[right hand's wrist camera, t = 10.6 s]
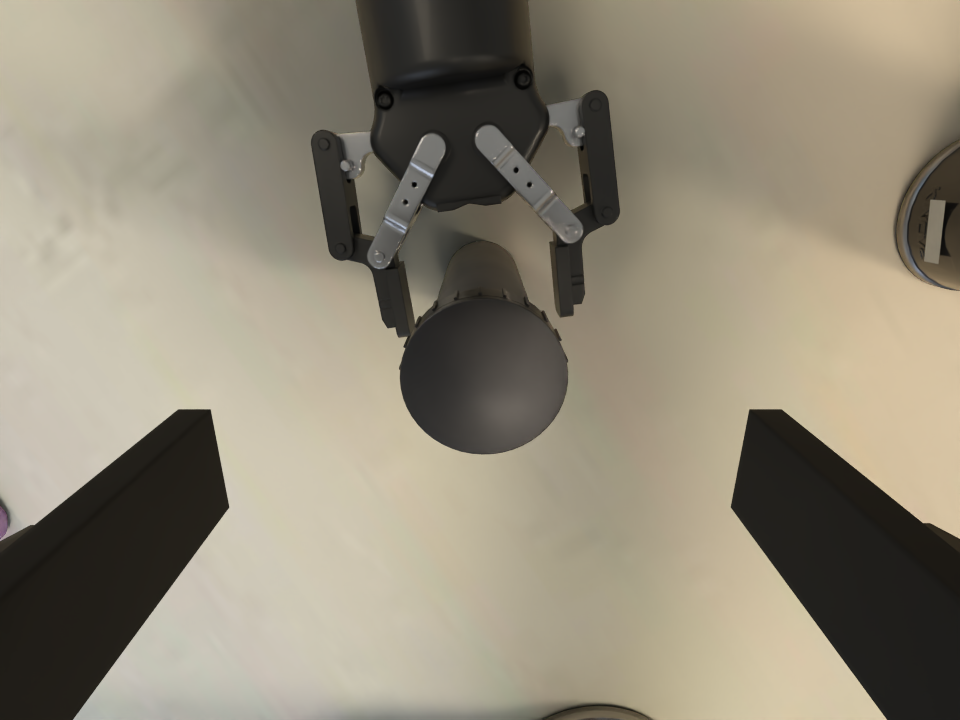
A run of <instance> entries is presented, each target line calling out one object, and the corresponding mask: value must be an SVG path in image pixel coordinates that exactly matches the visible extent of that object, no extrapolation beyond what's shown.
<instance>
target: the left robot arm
mask: <svg viewBox="0 0 960 720" xmlns="http://www.w3.org/2000/svg"><path fill="white" fill-rule="evenodd" d="M356 6H357V11H358V16H359V22H360V27H361V33H362V38H363V44H364V49H365V55H366V60H367V66H368V71H369V77H370V82H371V88H372V93H373V99H374V106H375V115H374V122H373V125H372V128H371V131H365V132H352V133H340V134H339V133H335V132H331V131H327V130H319V131H317V132H316V133H315V134H314V135H313V136H312V139H311V146H312V152H313V158H314V164H315V170H316V176H317V182H318V188H319V194H320V200H321V206H322V212H323V218H324V224H325V230H326V236H327V242H328V248H329V252H330V254H331V255H332V256H333V257H334V258H335V259H337V260H340V261H343V260H350V261H355V262H359V263H363V264H365V265H366V266H368V267H369V268H370V270H371V271H372V273H373V277H374V282H375V287H376V292H377V297H378V301H379V306H380V311H381V316H382V320H383V322H384V323H385V325H386V326H387V328H393V327H396V332H397V335H398V337H399V338H400V337H408V335H410V336H411V334H412V332H413V330H414V328H415V327H414V326H415V320H414V314H413V309H412V303H411V298H410V292H409V287H408V281H407V276H406V271H405V265H404V261H400V262H399V258H398V253H399V251H400V249H401V247H402V245H403V243H404V241H405V239H406V237H407V235H408V233H409V231H410V230H411V228H412V226H413V224H414V223H415V221H416V219H417V217H418V215H419V213H420V211H421V209H422V207H423V205H424V206H425V207H427V208H429V209H432V210H437V211H438V212H443V211H451V210H455V209H457V208H459V207H462V206H464V205H466V204H478V205H485V206H486V205H494V204H501V202H502V201H504V200H506V199H508V198H509V197H510V196H511V195H512V194H513V193H514V192H515V191H516V192H517V193H518V195H519V196H520V197H521V198H522V199H523V200H524V201H525V202H526V203H527V204H528V205H529V206H530V207H531V208H532V209H533V210H534V212H535V213H536V214H537V215H538V216H539V217H540V218H541V219H542V220H543V221H544V222H545V223H546V224H547V226H548V227H549V228H550V229H551V230H552V231H553V240H554V241H553V242H549V243H550V255H551V266H552V277H553V288H554V300H555V307H556V311H557V313H558V315H559V317H568V316H573V315H574V309H573V305H575V304H582V301H583V298H584V295H585V287H584V275H583V274H584V273H583V258H582V243H583V240H584V238H585V237H586V236H587V235H588V234H589V233H590V232H592V231H594V230H596V229H598V228H600V227H602V226H604V225H610V224H613V223H614V222H615V221H616V220H617V219H618V217H619V214H620V208H619V198H618V189H617V179H616V169H615V160H614V150H613V140H612V131H611V121H610V112H609V102H608V98H607V96H606V95H605V94H604V93H603V92H601V91H598V90H594V91H591V92H589V93H586V94H585V95H583V96H582V97H581V98H577V99H572V100H568V101H563V102H558V103H554V104H549V105H546V104H545V103H544V101H543V100H542V98H541V97H540V95H539V93H538V90H537V87H536V83H535V76H534V65H533V53H532V42H531V31H530V19H529V8H528V0H356ZM549 127H554V128H556V129H557V130H559V132H560V133H561V135H562V138H563V141H564V143H565V144H566V145H568V146H570V147H577V148H578V156H579V164H580V172H581V180H582V188H583V196H584V204H583V205H581V206H579V207H577V208H575V209H573V210H571V211H570V210H569V209H568V208H567V206H566V205H565V204H564V203H563V202H562V201H561V200H560V199H559V198H558V196H557V195H556V194H555V192H554V191H553V190H552V189H551V188H550V187H549V185H548V184H547V183H546V182H545V181H544V180H543V179H542V178H541V177H540V176H539V174H538V173H537V172H536V171H535V170H534V169H533V168H532V167H531V166H530V163H531V162H532V160H533V158H534V156H535V154H536V152H537V150H538V148H539V147H540V145H541V143H542V141H543V139H544V137H545V135H546V133H547V131H548V128H549ZM371 153H374V154H375V155H376V157H377V158H378V159H379V160H380V161H381V162H382V163H383V164H384V165H385V166H386V167H387V169H388V170H389V171H390V172H391V173H392V174H393V175H394V176H395V177H396V178H397V179H398V180H399V181H400V184H399V186H398V188H397V190H396V193H395V195H394V197H393V199H392V201H391V203H390V205H389V207H388V209H387V211H386V213H385V215H384V219H383V222H382V224H381V226H380V228H379V230H378V232H377V234H376V236H375V237H373V236H368V235H364V234H362V230H361V223H360V216H359V209H358V202H357V196H356V189H355V182H354V179H356V178H359V177H360V176H362V174H363V173H364V170H365V161H366V159H367V157H368V156H369V155H370V154H371ZM896 231H897V244H898V249H899V252H900V255H901V258H902V260H903V261H904V263H905V265H906V266H907V268H908V269H909V270H910V271H911V272H912V273H913V274H914V275H915V276H916V277H917V278H919V279H920V280H922V281H924V282H926V283H928V284H931V285H934V286H937V287H941V288H945V289H949V290H957V291H960V140H958V141H956V142H954V143H953V144H951V145H949V146H948V147H946V148H945V149H943V150H942V151H941V152H940V153H938V154H937V155H936V156H935V157H934V158H933V159H932V160H931V161H929V162H928V163H927V165H926V166H925V167H924V168H923V169H922V170H921V171H920V173H919V174H918V175H917V177H916V178H915V179H914V181H913V182H912V184H911V186H910V187H909V189H908V191H907V193H906V195H905V197H904V199H903V202H902V205H901V208H900V211H899V215H898V221H897V230H896Z"/></svg>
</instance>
